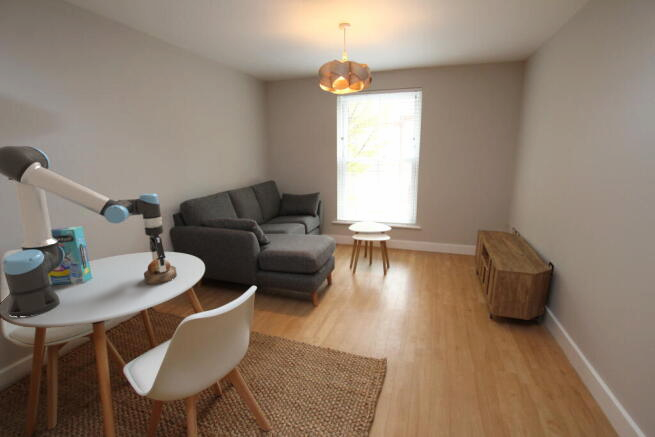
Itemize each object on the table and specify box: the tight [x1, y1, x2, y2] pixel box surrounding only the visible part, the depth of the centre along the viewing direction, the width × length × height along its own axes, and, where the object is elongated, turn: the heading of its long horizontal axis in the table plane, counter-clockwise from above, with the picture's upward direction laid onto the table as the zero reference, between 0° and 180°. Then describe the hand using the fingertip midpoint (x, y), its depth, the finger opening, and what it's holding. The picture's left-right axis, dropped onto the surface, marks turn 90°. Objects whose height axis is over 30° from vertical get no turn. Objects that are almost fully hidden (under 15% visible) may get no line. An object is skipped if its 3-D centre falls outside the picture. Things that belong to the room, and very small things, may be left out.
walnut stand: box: [143, 265, 178, 286], centre depth 151 cm, size 14×14×4 cm
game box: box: [48, 226, 93, 286], centre depth 147 cm, size 20×6×27 cm, turn 95°
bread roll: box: [147, 259, 172, 275], centre depth 151 cm, size 10×10×8 cm
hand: (159, 267), depth 151 cm, fingers open, 13 cm apart
